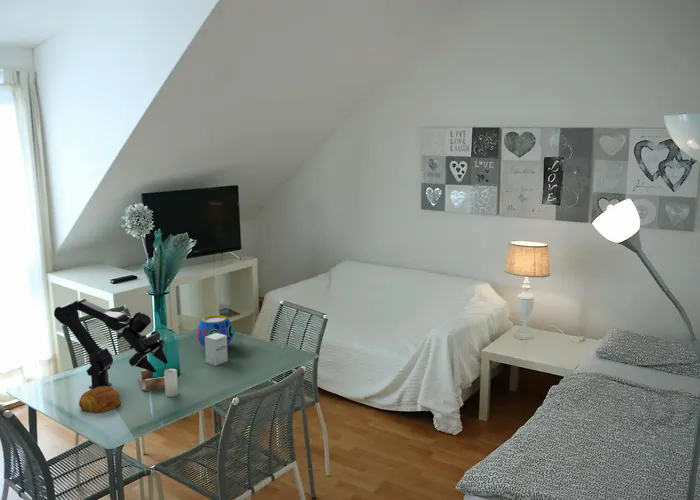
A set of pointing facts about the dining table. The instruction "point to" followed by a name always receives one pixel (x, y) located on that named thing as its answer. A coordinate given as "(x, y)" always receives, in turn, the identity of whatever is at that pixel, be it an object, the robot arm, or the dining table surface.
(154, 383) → the cradle
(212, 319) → the ceramic pot
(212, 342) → the supplement box
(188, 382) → the dining table surface
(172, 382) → the paper roll
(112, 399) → the croissant
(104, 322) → the robot arm
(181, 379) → the dining table surface
